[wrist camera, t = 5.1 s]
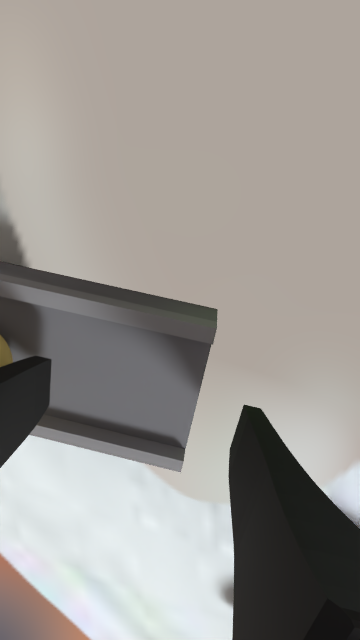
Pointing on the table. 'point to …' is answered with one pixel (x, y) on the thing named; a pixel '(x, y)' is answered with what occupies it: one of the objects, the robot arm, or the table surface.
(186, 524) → the table surface
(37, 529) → the table surface
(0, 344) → the ball
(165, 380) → the lane
